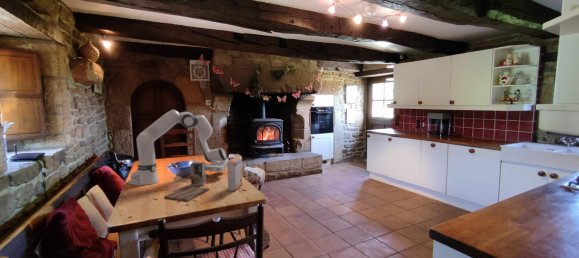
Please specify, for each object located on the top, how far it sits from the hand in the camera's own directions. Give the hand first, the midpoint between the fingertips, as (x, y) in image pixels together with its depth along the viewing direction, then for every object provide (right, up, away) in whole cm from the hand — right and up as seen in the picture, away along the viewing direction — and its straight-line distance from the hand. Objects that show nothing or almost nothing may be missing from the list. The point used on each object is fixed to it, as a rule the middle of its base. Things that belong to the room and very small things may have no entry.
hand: (206, 170), depth 213 cm
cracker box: (+26, -11, -17) cm, 33 cm away
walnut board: (-3, -12, -30) cm, 32 cm away
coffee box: (-3, -10, -9) cm, 13 cm away
